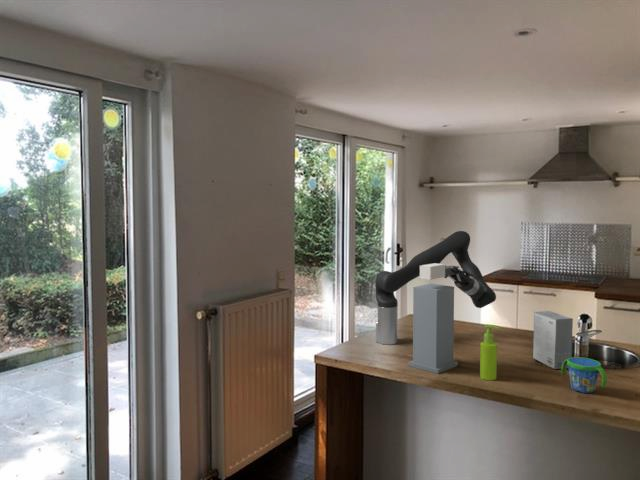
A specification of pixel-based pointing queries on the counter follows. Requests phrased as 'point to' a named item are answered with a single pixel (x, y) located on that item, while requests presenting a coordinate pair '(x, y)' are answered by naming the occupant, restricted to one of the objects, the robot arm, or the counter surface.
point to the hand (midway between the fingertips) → (447, 267)
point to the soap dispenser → (488, 355)
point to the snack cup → (584, 373)
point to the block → (435, 271)
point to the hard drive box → (552, 338)
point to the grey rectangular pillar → (433, 328)
